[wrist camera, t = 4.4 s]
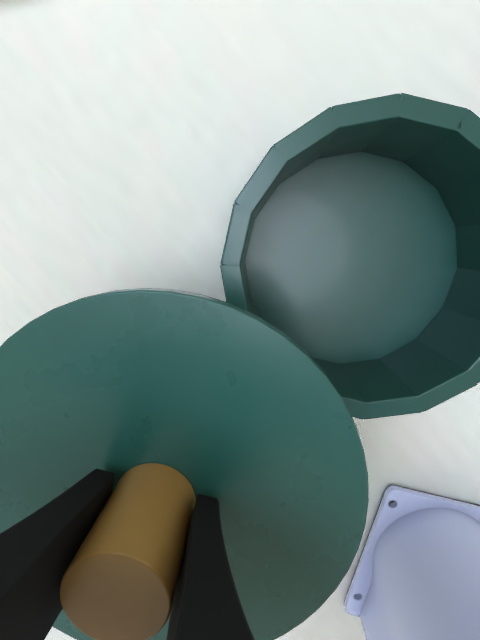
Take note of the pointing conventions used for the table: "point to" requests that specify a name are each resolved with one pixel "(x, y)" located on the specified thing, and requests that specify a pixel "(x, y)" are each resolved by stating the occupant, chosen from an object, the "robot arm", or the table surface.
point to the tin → (369, 250)
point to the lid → (181, 456)
